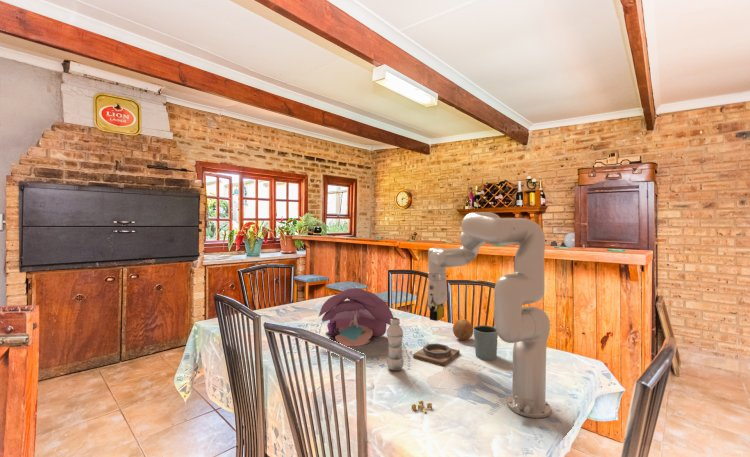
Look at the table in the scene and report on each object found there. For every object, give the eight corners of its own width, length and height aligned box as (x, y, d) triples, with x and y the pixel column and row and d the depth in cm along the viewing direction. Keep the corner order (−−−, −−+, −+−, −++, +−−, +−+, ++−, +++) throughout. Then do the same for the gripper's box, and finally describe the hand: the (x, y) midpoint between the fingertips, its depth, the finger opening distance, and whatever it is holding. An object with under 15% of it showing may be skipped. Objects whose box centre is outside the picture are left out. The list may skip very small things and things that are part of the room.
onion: (471, 336, 176) (471, 316, 176) (474, 343, 166) (475, 322, 166) (451, 335, 177) (451, 316, 176) (454, 342, 167) (454, 322, 167)
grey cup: (499, 362, 145) (499, 333, 144) (474, 360, 147) (474, 331, 146) (496, 352, 155) (496, 325, 154) (472, 351, 157) (472, 324, 156)
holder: (443, 366, 141) (443, 358, 140) (413, 357, 149) (413, 350, 149) (459, 353, 153) (459, 346, 153) (430, 346, 162) (431, 339, 162)
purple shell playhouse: (325, 359, 159) (320, 303, 152) (317, 333, 181) (312, 283, 174) (397, 344, 169) (395, 290, 162) (381, 321, 191) (379, 272, 184)
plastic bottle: (389, 373, 134) (389, 322, 133) (384, 366, 140) (384, 317, 140) (405, 371, 135) (405, 320, 135) (399, 364, 142) (399, 315, 141)
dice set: (410, 411, 109) (410, 405, 109) (419, 404, 113) (419, 398, 113) (424, 417, 106) (424, 410, 106) (433, 409, 110) (433, 403, 110)
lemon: (434, 318, 155) (434, 300, 154) (445, 320, 151) (445, 302, 151) (428, 321, 150) (427, 302, 150) (439, 323, 147) (439, 304, 147)
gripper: (435, 280, 141) (435, 324, 142) (453, 274, 155) (453, 315, 155) (419, 278, 145) (419, 321, 146) (438, 273, 159) (438, 312, 160)
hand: (436, 318), depth 151 cm, fingers closed on lemon, 5 cm apart
